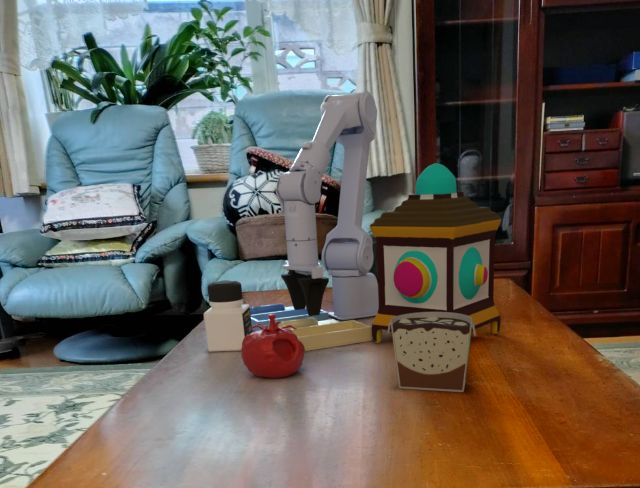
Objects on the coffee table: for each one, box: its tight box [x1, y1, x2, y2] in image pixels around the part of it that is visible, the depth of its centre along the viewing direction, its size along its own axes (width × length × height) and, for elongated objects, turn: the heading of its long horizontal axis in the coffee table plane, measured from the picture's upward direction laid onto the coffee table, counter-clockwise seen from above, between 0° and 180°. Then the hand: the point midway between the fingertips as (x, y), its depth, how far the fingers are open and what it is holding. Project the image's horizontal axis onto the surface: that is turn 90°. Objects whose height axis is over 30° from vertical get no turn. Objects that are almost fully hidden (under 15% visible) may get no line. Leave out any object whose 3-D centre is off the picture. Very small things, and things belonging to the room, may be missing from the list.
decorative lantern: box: [369, 162, 502, 344], centre depth 120 cm, size 20×20×30 cm
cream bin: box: [290, 319, 373, 352], centre depth 125 cm, size 15×8×3 cm, turn 116°
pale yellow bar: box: [278, 317, 340, 329], centre depth 133 cm, size 12×4×3 cm, turn 116°
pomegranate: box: [240, 314, 306, 379], centre depth 106 cm, size 10×10×9 cm
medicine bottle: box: [203, 279, 253, 353], centre depth 124 cm, size 7×7×12 cm
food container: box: [387, 312, 477, 393], centre depth 97 cm, size 12×6×10 cm, turn 71°
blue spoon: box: [250, 303, 294, 315], centre depth 149 cm, size 12×4×3 cm, turn 116°
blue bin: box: [251, 307, 330, 333], centre depth 140 cm, size 15×8×3 cm, turn 116°
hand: (306, 312), depth 132 cm, fingers open, 7 cm apart
